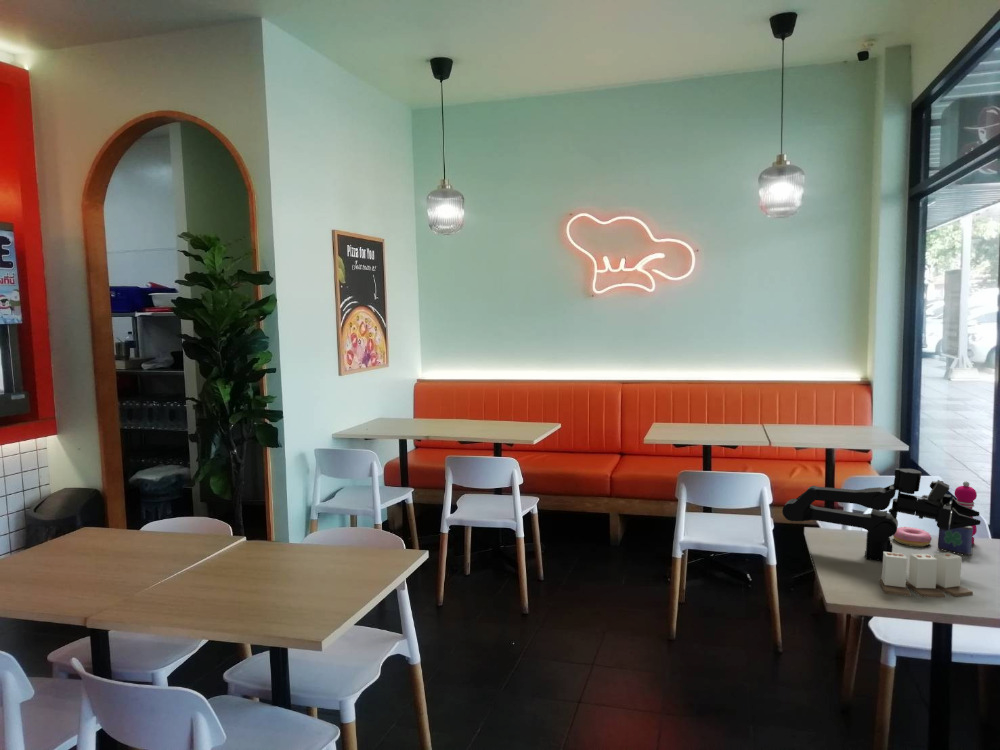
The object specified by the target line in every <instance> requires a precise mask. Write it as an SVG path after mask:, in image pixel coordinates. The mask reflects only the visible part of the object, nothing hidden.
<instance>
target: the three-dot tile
mask: <svg viewBox="0 0 1000 750" xmlns="http://www.w3.org/2000/svg"><path fill="white" fill-rule="evenodd" d="M907 567H908V558H907V556H906V554H905V553H901V552H893V551H892V552H883V561H882V569H881V570H882V571H881V572H882V574H881V579H882V581H883V583H884V585H889V586H898V587H907V586H906V582H907V570H908V569H907Z"/></svg>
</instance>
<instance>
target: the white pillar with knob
mask: <svg viewBox="0 0 1000 750" xmlns="http://www.w3.org/2000/svg"><path fill="white" fill-rule="evenodd" d="M933 557H934V558H936V559H937V574H936V584H937V585H940V586H942V587H944V588H948V587H956V586H961V574H962V572H961V571H962V560H963V559H962V558H963V557H962V556H960V555H958V554H956V553H953V552H948V551H946V552H938V553H934V554H933Z"/></svg>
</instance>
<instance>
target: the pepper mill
mask: <svg viewBox="0 0 1000 750" xmlns="http://www.w3.org/2000/svg"><path fill="white" fill-rule="evenodd" d="M953 493H954V498H956V499H955V500H956V501H957V502H958V503H959V504H961V505H963V506H965V507H968V508H970V509H973V508H974V507H975V502H974V501H975V500H976V499H977V496H978V495H977V491H976V489H974V487H972V486H970V482H969V481H965V480H964V482H963V483H962V485H960V486H958V487H956V488H955V490H954V492H953ZM971 518H974V517H971ZM971 527H973V532H972V545H974V543H975V537H974V536H975V535H976V534H977V525H974V526H971Z"/></svg>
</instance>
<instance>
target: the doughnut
mask: <svg viewBox="0 0 1000 750" xmlns="http://www.w3.org/2000/svg"><path fill="white" fill-rule="evenodd" d="M892 537H893V539H894V540H895V541H896V542H898V543H900V544H902V545H905V546H909V545H911V546H910V547H919V546H920V547H926V545H927V546H928V545H930V544H931V541H932V540H933V538H932V536H931V534H930V533H929V532H927V531H926V530H924V529H921V528H917V527H911V526H909V527H908V526H900V527H897V531H896V533H895V534H894V535H893V536H892Z"/></svg>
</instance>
